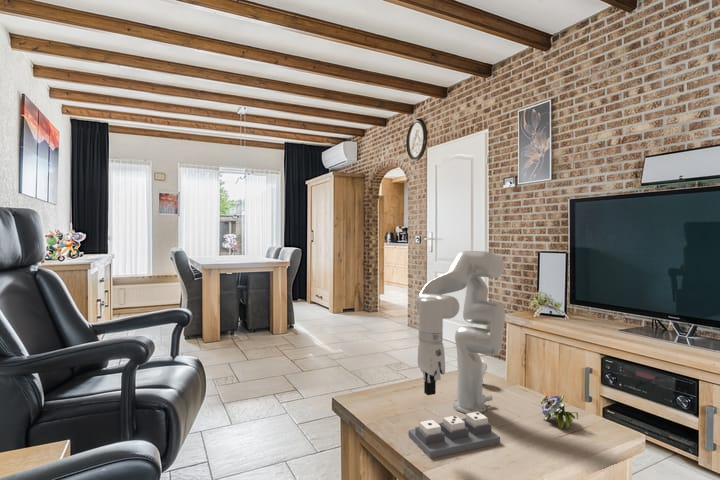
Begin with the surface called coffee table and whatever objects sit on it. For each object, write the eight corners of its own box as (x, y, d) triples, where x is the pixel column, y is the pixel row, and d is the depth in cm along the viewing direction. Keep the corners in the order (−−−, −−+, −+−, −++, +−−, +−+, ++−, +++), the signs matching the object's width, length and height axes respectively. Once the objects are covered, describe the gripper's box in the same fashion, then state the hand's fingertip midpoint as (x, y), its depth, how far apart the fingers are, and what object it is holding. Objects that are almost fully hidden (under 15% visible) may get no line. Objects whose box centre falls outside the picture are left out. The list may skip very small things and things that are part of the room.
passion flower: (546, 434, 144) (535, 400, 151) (577, 431, 143) (564, 396, 150) (552, 429, 135) (539, 393, 142) (585, 425, 134) (571, 389, 141)
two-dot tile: (478, 420, 136) (478, 411, 136) (487, 426, 131) (487, 417, 131) (465, 422, 134) (465, 413, 134) (474, 429, 130) (475, 419, 130)
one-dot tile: (432, 428, 130) (432, 419, 130) (440, 435, 125) (440, 426, 125) (419, 431, 128) (419, 421, 128) (426, 438, 123) (427, 428, 123)
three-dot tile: (455, 424, 133) (455, 415, 133) (464, 431, 128) (464, 421, 128) (443, 426, 131) (443, 417, 131) (451, 433, 127) (451, 424, 127)
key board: (473, 423, 141) (473, 411, 141) (500, 443, 128) (500, 429, 128) (408, 436, 132) (408, 422, 132) (430, 458, 119) (430, 443, 119)
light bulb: (469, 380, 183) (470, 357, 183) (483, 380, 184) (483, 357, 184) (475, 386, 177) (475, 361, 177) (489, 385, 177) (489, 361, 177)
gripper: (453, 341, 121) (453, 401, 121) (428, 330, 135) (428, 384, 135) (432, 343, 118) (431, 404, 118) (409, 332, 132) (408, 387, 132)
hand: (429, 393), depth 126 cm, fingers closed
